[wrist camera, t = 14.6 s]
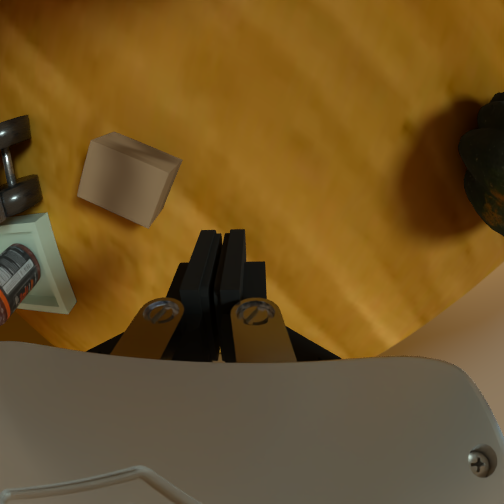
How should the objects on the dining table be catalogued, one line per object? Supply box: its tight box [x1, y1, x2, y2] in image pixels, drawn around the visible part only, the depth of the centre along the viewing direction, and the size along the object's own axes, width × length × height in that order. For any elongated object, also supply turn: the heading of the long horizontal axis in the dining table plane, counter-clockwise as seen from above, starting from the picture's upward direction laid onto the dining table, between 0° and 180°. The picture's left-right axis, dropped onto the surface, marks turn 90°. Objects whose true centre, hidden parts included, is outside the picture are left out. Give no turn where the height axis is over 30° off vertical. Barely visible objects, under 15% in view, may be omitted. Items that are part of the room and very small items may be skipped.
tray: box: [0, 213, 77, 314], centre depth 29 cm, size 12×12×2 cm
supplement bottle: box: [0, 243, 41, 325], centre depth 25 cm, size 6×6×11 cm
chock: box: [77, 132, 182, 228], centre depth 24 cm, size 7×5×4 cm
